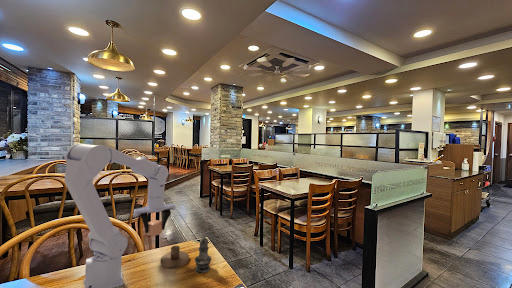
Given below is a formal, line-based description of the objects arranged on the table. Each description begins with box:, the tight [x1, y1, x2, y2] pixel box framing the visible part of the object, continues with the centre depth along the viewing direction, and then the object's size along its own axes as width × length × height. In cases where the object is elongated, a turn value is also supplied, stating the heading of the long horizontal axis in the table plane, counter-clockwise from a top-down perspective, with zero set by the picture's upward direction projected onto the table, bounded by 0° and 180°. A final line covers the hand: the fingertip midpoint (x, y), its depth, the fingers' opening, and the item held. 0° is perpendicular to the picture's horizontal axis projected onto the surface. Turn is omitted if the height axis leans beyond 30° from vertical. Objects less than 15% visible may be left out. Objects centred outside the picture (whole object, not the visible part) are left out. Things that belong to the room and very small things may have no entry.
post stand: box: [159, 245, 190, 270], centre depth 82 cm, size 10×10×5 cm
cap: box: [146, 219, 163, 237], centre depth 85 cm, size 5×5×4 cm
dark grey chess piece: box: [194, 235, 213, 274], centre depth 78 cm, size 6×6×12 cm
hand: (154, 230), depth 85 cm, fingers closed on cap, 5 cm apart
